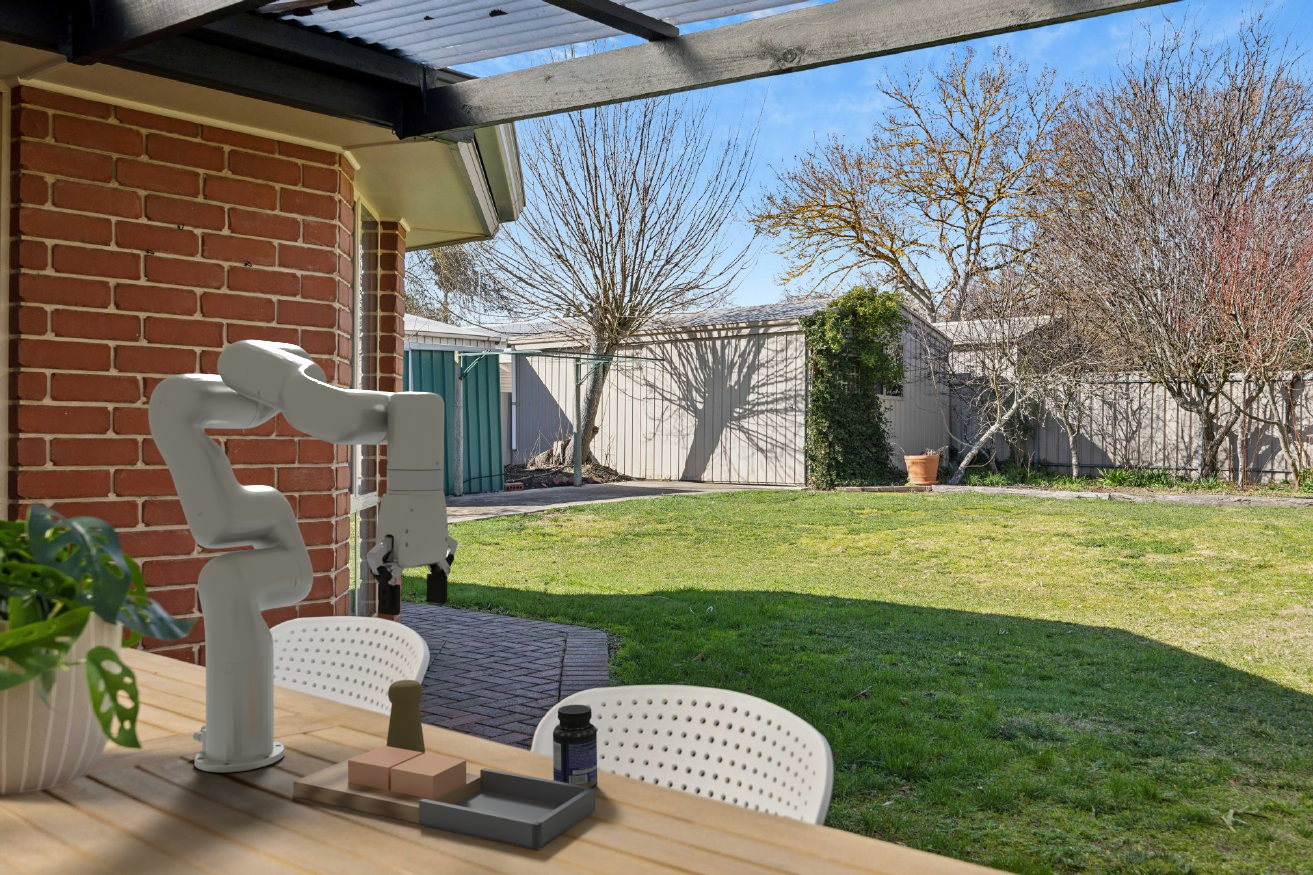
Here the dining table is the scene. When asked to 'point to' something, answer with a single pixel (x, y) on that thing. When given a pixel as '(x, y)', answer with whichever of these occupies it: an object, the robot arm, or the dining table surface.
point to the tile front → (428, 775)
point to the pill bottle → (575, 747)
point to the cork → (405, 716)
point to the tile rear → (377, 766)
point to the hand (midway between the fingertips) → (413, 608)
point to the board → (371, 793)
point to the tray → (513, 809)
